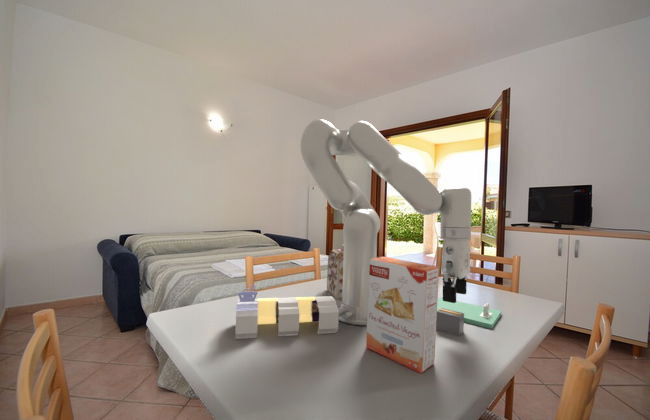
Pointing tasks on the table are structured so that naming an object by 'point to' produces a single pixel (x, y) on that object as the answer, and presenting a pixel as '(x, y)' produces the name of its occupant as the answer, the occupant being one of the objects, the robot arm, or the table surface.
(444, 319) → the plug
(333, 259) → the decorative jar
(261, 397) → the table surface
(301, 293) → the table surface
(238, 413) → the table surface
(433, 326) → the cracker box
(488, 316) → the board
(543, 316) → the table surface
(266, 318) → the white and yellow block
